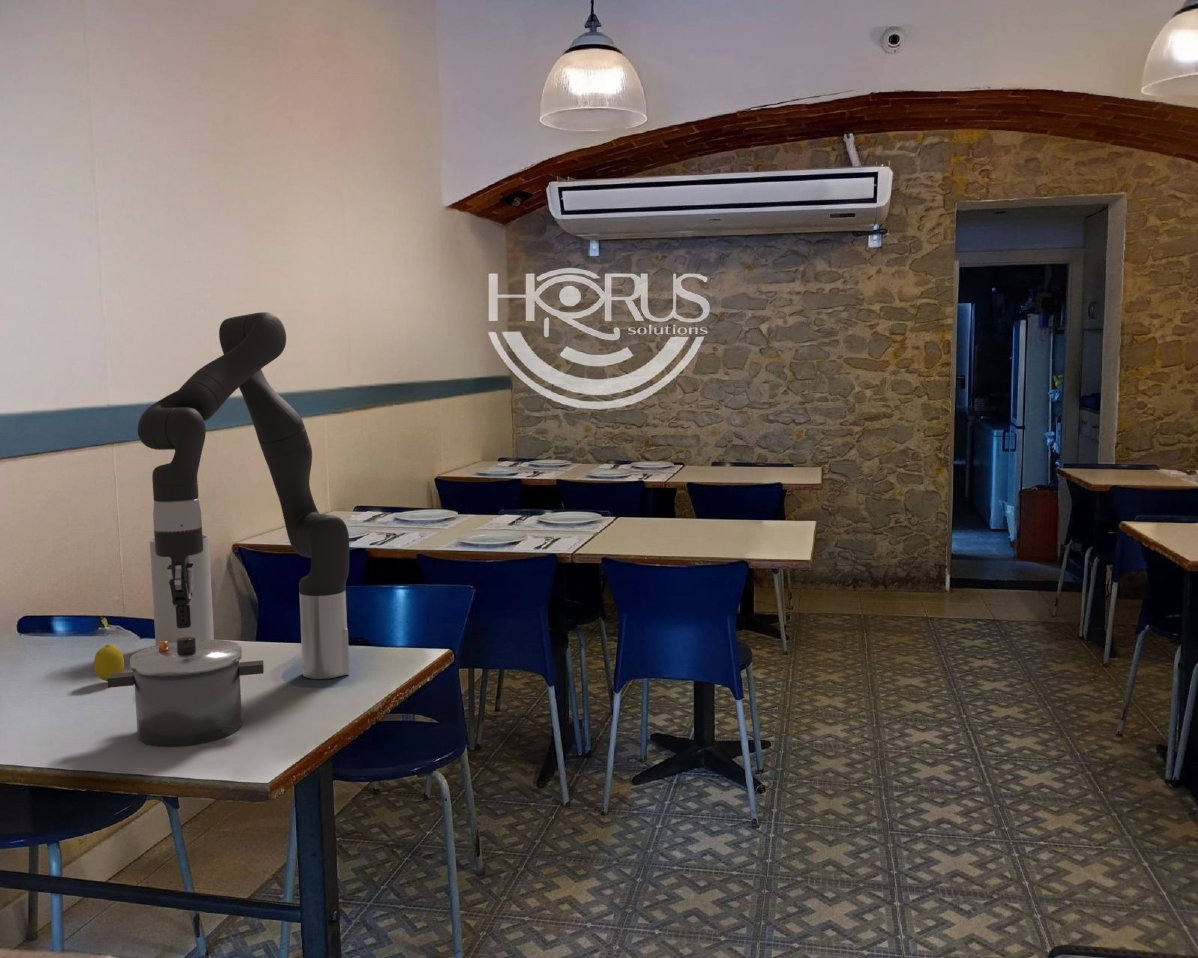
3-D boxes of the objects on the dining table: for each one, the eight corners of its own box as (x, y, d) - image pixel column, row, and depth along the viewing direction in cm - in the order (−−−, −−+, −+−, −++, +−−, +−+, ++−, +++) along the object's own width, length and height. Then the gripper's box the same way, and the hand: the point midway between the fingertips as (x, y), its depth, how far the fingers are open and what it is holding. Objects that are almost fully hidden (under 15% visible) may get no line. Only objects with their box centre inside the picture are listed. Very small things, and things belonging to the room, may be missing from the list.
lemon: (101, 679, 212) (99, 641, 211) (129, 678, 213) (127, 640, 212) (90, 687, 207) (88, 648, 206) (119, 686, 207) (116, 647, 206)
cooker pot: (266, 705, 194) (263, 642, 192) (265, 737, 176) (262, 668, 175) (121, 719, 186) (117, 654, 185) (104, 754, 169) (100, 682, 168)
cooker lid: (243, 644, 191) (242, 623, 190) (240, 669, 174) (239, 647, 173) (137, 653, 185) (136, 631, 185) (123, 680, 168) (121, 657, 168)
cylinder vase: (208, 650, 234) (202, 541, 231) (149, 654, 232) (143, 543, 229) (218, 637, 246) (213, 533, 244) (163, 640, 244) (157, 535, 242)
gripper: (199, 530, 169) (205, 634, 171) (204, 519, 181) (210, 616, 183) (149, 533, 167) (156, 638, 168) (158, 522, 179) (164, 620, 181)
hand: (184, 626), depth 176 cm, fingers closed
